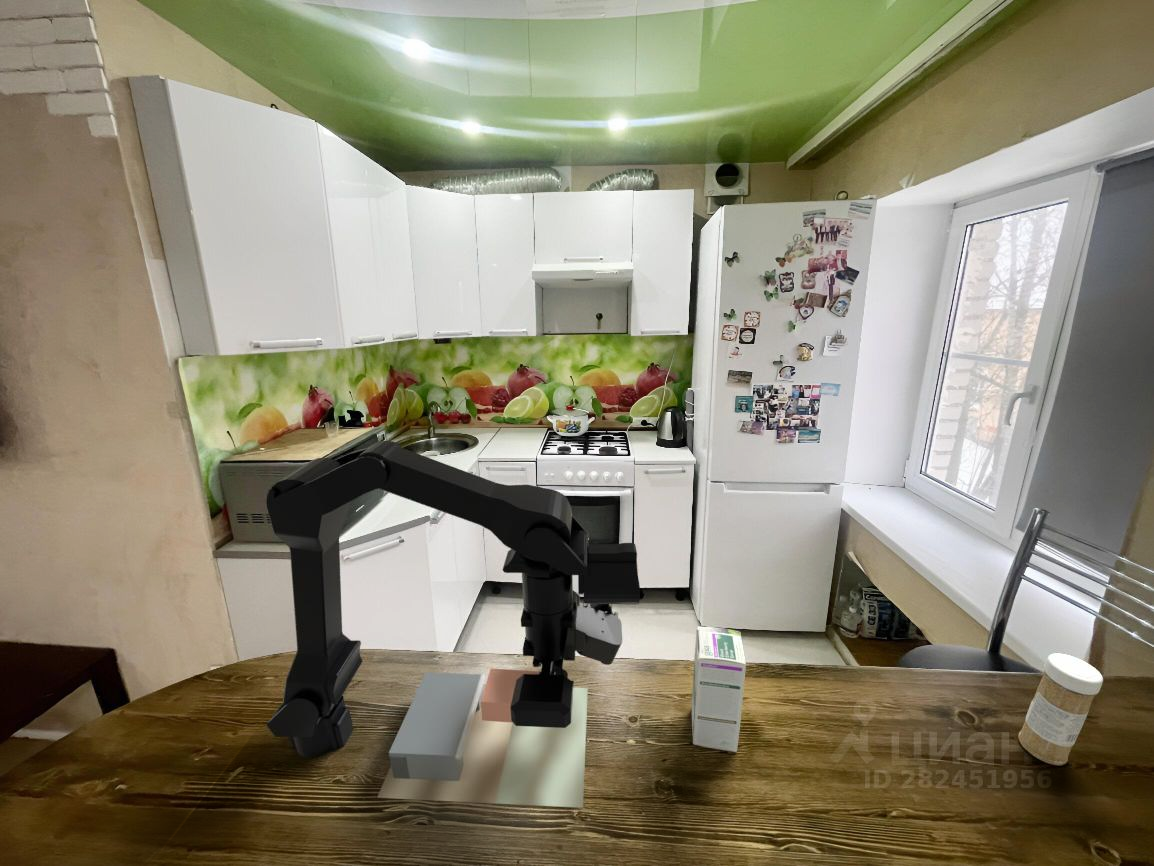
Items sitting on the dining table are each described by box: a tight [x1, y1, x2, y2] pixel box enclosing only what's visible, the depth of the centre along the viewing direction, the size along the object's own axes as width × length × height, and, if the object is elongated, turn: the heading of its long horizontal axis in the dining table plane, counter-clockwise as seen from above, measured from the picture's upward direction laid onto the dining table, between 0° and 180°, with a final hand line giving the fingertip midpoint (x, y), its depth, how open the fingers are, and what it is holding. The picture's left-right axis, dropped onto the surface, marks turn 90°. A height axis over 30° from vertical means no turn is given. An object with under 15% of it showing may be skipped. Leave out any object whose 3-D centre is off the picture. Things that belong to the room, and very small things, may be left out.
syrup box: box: [691, 625, 747, 753], centre depth 59 cm, size 6×6×14 cm
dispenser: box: [388, 672, 487, 781], centre depth 59 cm, size 9×12×4 cm
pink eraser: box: [481, 667, 539, 723], centre depth 57 cm, size 10×5×3 cm, turn 87°
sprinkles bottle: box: [1017, 652, 1104, 766], centre depth 55 cm, size 5×5×13 cm
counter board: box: [377, 683, 589, 809], centre depth 60 cm, size 24×16×1 cm, turn 87°
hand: (552, 701), depth 57 cm, fingers closed on pink eraser, 5 cm apart
